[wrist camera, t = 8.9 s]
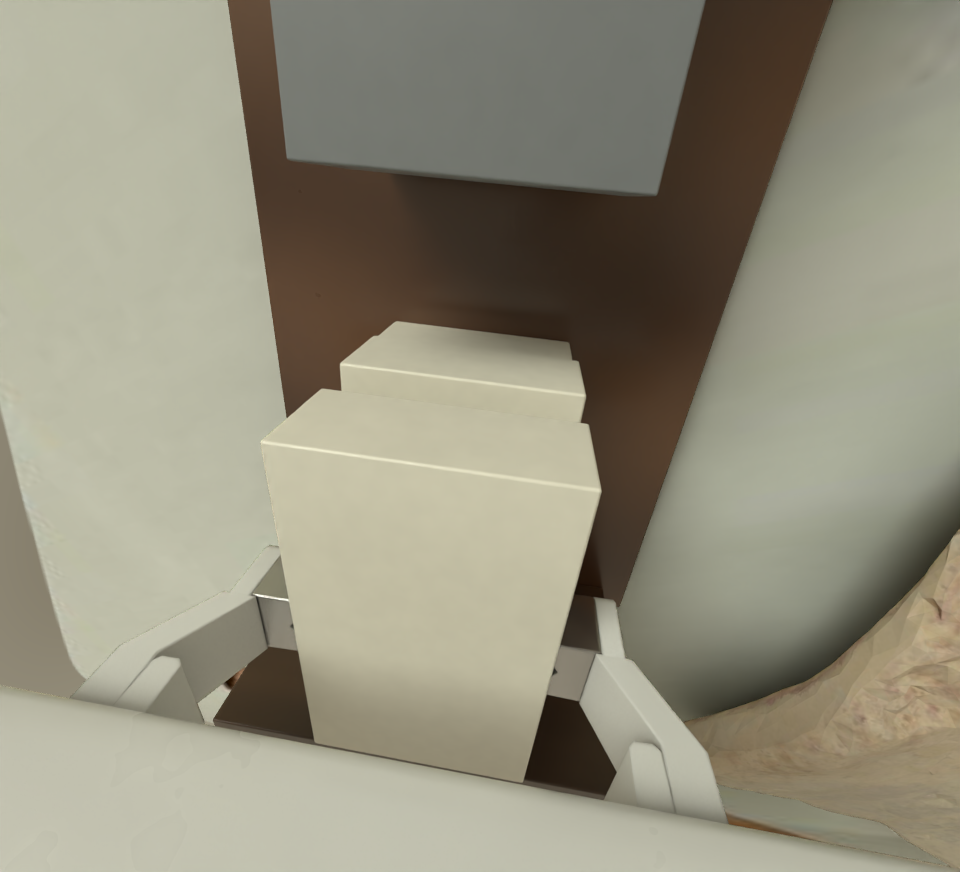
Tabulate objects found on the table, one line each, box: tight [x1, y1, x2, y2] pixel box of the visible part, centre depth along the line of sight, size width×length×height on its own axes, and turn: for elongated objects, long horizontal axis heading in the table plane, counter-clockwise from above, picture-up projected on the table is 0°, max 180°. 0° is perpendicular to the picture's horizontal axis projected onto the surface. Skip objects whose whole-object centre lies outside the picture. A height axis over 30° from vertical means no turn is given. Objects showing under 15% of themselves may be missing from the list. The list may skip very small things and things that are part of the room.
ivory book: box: [260, 389, 602, 783], centre depth 11 cm, size 10×6×2 cm, turn 175°
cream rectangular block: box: [340, 321, 586, 423], centre depth 15 cm, size 10×6×5 cm, turn 175°
